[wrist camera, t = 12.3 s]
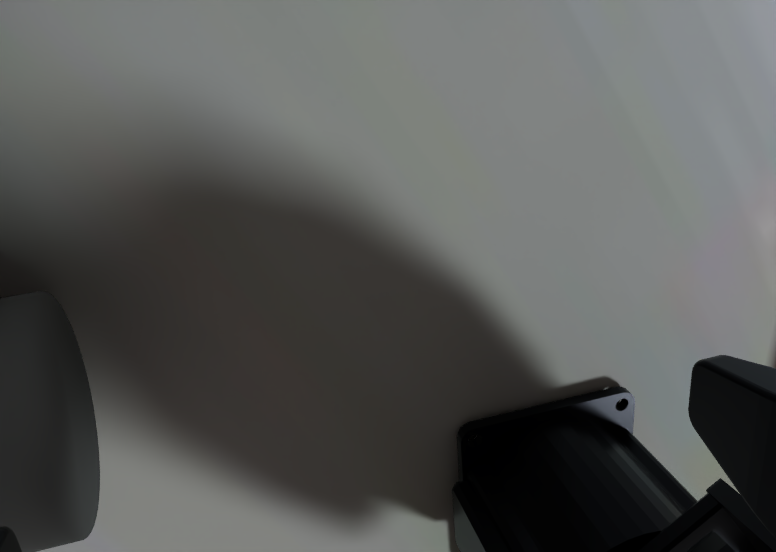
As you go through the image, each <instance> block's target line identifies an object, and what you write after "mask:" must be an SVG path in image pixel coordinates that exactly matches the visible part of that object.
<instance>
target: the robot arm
mask: <svg viewBox="0 0 776 552" xmlns="http://www.w3.org/2000/svg"><path fill="white" fill-rule="evenodd" d="M621 399H622V400H621ZM619 400H621V401H620V403H618V404H616V403H617V402H618V401H619ZM634 406H635V400H634V397H633V395H632V394H631V393H630V392H629V391H628V390H627V389H626V388H623V387H614V388H610V389H606V390H602V391H597V392H593V393H589V394H585V395H581V396H577V397H572V398H568V399H564V400H560V401H556V402H552V403H547V404H543V405H539V406H535V407H531V408H527V409H522V410H518V411H514V412H510V413H506V414H502V415H497V416H493V417H489V418H485V419H481V420H477V421H472V422H469V423H467V424H465V425H463V426H462V427H461V428H460V430H459V431H458V433H457V449H458V465H459V482H456V483H455V485H454V487H453V489H452V495H453V511H454V526H455V540H456V544H457V546H458V548H459V550H460V552H776V369H775V368H772V367H768V366H764V365H761V364H757V363H753V362H749V361H746V360H742V359H738V358H734V357H731V356H727V355H719V356H715V357H711V358H706V359H702V360H699V361H698V362H696V363H695V365H694V367H693V370H692V377H691V387H690V397H689V408H688V411H689V417H690V421H691V423H692V425H693V427H694V429H695V430H696V432H697V433H698V434H699V436H700V437H701V439H702V440H703V442H704V443H705V444H706V446H707V447H708V449H709V450H710V452H711V453H712V454H713V456H714V457H715V459H716V460H717V462H718V463H719V464H720V466H721V467H722V469H723V470H724V472H725V473H726V474H727V476H728V477H729V479H730V480H731V482H732V483H733V484H734V486H735V487H736V489H737V490H738V492H739V493H740V494H739V493H738V492H736V491H735V490H734V489H733V488H732V487H730V486H729V485H728V484H727V483H726V482H724V481H723V480H722V479H721V478H720V479H719V480H718V481H716V482H715V483H714V484H713V485H711V486H710V487H709V488H708V489H707V490H706V491H707V494H706V495H705V496H704V497H702V498H701V499H700V500H699V501H697V500H696V499H695V498H694V497H693V496H692V495H691V494H690V493H689V492H688V491H687V490H686V489H685V488H684V487H683V486H682V485H681V484H680V483H679V482H678V481H677V480H676V479H675V478H674V476H673V475H672V474H671V473H670V472H669V471H668V470H667V469H666V468H665V467H664V466H663V465H662V464H661V463H660V462H659V461H658V460H657V459H656V458H655V457H654V456H653V455H652V454H651V453H650V452H649V451H648V450H647V449H646V448H645V447H644V446H643V445H642V444H641V443H640V442H639V441H638V440H637V439H636V438H635V437H634V435H633V422H634ZM473 435H477V436H476V438H475V439H473V440H468V439H469V438H470V437H471V436H473ZM0 552H22V550H21V547H20V544H19V542H18V539H17V537H16V535H15V533H14V532H13V530H12V529H11V528H9V527H6V526H3V527H0Z"/></svg>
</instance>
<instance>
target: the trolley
mask: <svg viewBox="0 0 776 552" xmlns="http://www.w3.org/2000/svg"><path fill="white" fill-rule="evenodd" d="M99 490H100V464H99V447H98V437H97V428H96V421H95V414H94V408H93V402H92V397H91V392H90V387H89V382H88V378H87V374H86V370H85V366H84V362H83V359H82V355H81V352H80V349H79V346H78V343H77V340H76V337H75V335H74V332H73V330H72V327H71V325H70V323H69V320H68V318H67V316H66V314H65V312H64V311H63V309H62V307H61V306H60V304H59V303H58V301H57V300H56V299H55V298H54V297H53V296H52V295H51V294H50V293H48V292H46V291H38V292H33V293H27V294H22V295H16V296H10V297H5V298H0V527H3V526H6V527H9V528H11V529H12V530H13V532H14V533H15V535H16V537H17V539H18V542H19V544H20V547H21V550H22V552H36V551H40V550H44V549H48V548H52V547H56V546H60V545H64V544H68V543H72V542H76V541H80V540H84V539H85V538H87V537H88V536H89V534H90V533H91V531H92V529H93V527H94V524H95V520H96V516H97V510H98V503H99Z"/></svg>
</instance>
